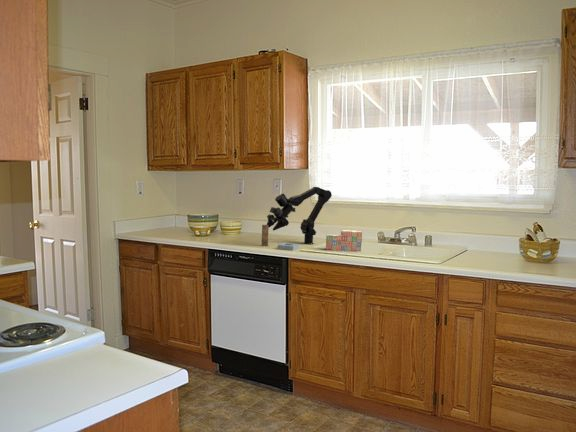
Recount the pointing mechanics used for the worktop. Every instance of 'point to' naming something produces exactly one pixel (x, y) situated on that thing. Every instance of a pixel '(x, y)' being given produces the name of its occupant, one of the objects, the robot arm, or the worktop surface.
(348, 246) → the stack of blocks
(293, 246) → the bead block
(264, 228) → the dowel
